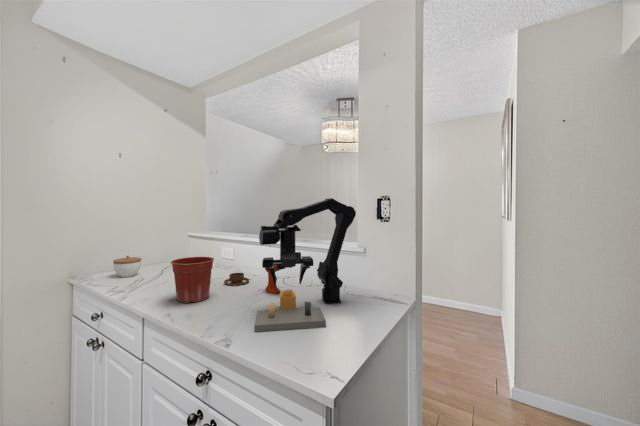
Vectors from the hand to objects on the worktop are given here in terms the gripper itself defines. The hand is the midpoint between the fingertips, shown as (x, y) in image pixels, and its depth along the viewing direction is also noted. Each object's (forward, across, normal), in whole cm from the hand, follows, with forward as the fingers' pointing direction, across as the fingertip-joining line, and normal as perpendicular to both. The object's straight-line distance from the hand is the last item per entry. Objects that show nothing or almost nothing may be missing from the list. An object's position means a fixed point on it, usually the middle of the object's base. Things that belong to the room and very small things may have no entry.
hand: (287, 284), depth 105 cm
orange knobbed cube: (+9, 0, 0) cm, 9 cm away
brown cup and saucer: (+10, -27, +41) cm, 50 cm away
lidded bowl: (+9, -84, +63) cm, 105 cm away
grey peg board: (+9, 0, -13) cm, 16 cm away
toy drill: (+9, -3, +17) cm, 19 cm away
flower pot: (+9, -38, +17) cm, 43 cm away
